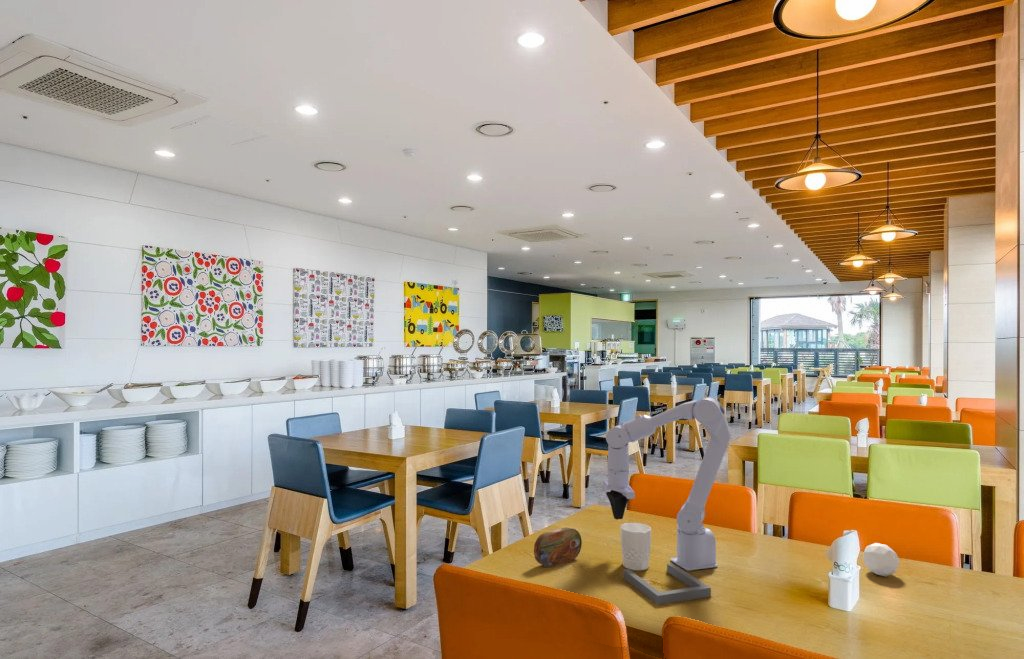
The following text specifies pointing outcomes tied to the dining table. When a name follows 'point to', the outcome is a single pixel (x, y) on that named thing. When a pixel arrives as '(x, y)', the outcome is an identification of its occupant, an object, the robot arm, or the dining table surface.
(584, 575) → the dining table surface
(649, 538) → the white cup
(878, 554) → the geometric ball
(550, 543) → the tin
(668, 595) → the gray u-shaped frame
